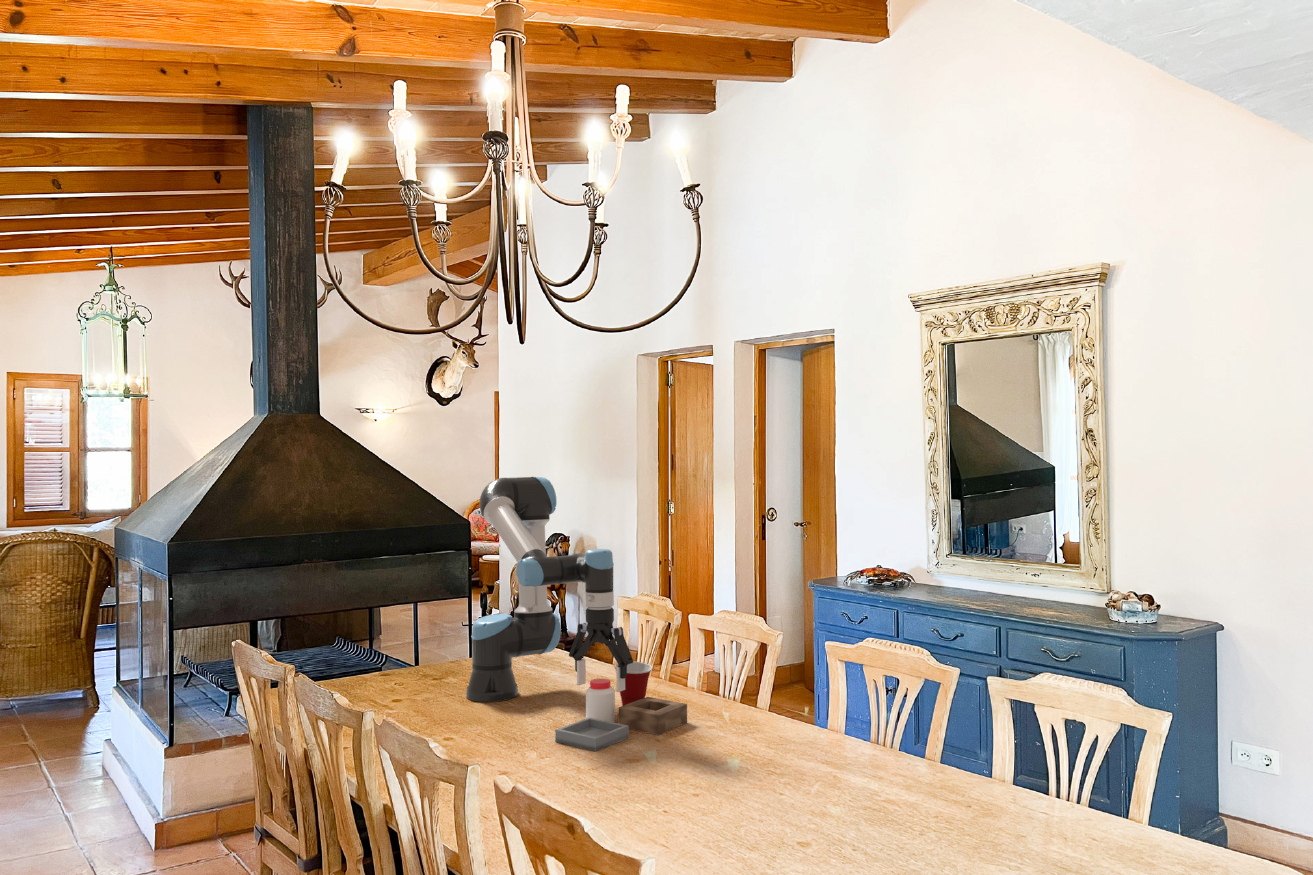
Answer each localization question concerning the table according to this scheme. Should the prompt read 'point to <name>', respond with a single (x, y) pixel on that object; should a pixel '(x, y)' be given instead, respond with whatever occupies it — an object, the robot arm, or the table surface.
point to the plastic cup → (635, 682)
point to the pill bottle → (600, 700)
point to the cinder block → (653, 715)
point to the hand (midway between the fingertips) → (600, 687)
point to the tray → (592, 734)
